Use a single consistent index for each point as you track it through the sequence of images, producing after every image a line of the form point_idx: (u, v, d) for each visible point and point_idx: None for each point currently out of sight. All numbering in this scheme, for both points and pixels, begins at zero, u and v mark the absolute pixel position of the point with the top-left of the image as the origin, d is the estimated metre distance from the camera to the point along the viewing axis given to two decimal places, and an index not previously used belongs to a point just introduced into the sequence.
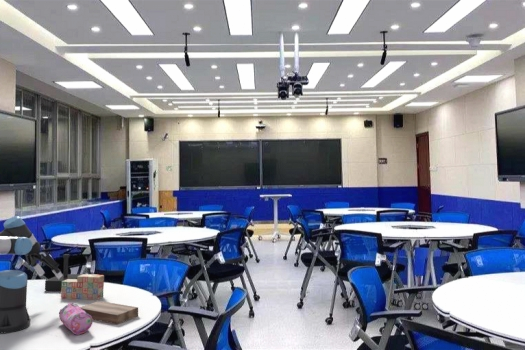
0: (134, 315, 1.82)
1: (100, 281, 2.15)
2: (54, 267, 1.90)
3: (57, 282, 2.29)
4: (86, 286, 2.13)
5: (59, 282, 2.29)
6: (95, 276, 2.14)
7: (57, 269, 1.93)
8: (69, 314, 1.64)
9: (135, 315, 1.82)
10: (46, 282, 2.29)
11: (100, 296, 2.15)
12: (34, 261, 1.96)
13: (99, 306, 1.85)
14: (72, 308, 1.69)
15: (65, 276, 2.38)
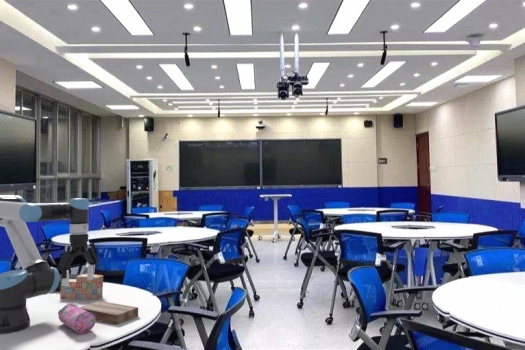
0: (134, 315, 1.82)
1: (99, 281, 2.14)
2: (57, 267, 1.62)
3: None
4: (85, 286, 2.13)
5: (59, 282, 2.29)
6: (94, 276, 2.14)
7: (62, 273, 1.63)
8: (71, 314, 1.65)
9: (135, 315, 1.82)
10: None
11: (99, 296, 2.15)
12: (86, 258, 1.75)
13: (99, 306, 1.85)
14: (73, 308, 1.69)
15: None
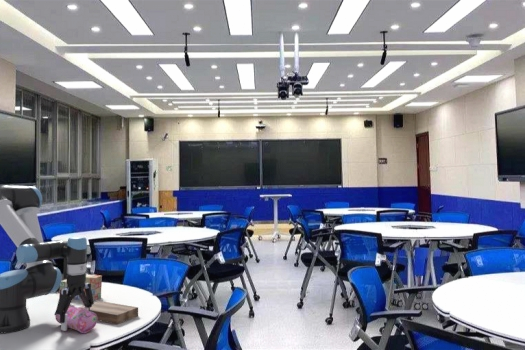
0: (134, 315, 1.82)
1: (97, 281, 2.13)
2: None
3: None
4: None
5: None
6: (92, 276, 2.13)
7: (61, 318, 1.61)
8: (71, 314, 1.64)
9: (135, 315, 1.82)
10: None
11: (97, 297, 2.14)
12: (82, 299, 1.71)
13: (99, 306, 1.85)
14: (71, 308, 1.69)
15: (65, 276, 2.38)
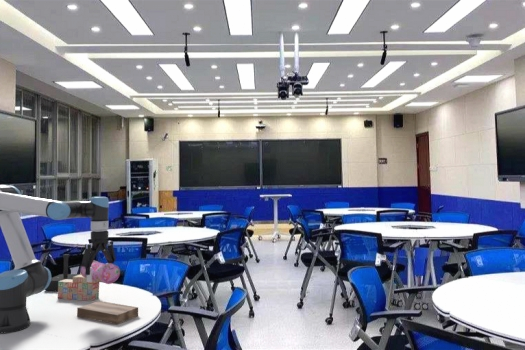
0: (134, 315, 1.82)
1: (95, 282, 2.12)
2: (81, 264, 1.72)
3: (57, 282, 2.29)
4: (81, 287, 2.11)
5: None
6: None
7: (86, 270, 1.73)
8: (96, 267, 1.75)
9: (135, 315, 1.82)
10: None
11: (95, 297, 2.13)
12: (105, 255, 1.82)
13: (99, 306, 1.85)
14: (95, 263, 1.80)
15: (65, 276, 2.38)
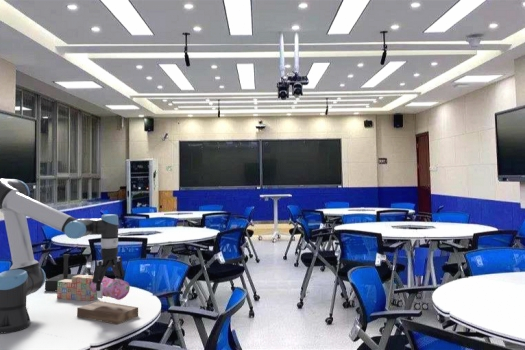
0: (134, 315, 1.82)
1: None
2: None
3: None
4: (80, 287, 2.11)
5: None
6: (89, 277, 2.12)
7: (97, 286, 1.78)
8: (106, 283, 1.81)
9: (135, 315, 1.82)
10: (46, 282, 2.29)
11: (94, 297, 2.12)
12: (114, 271, 1.88)
13: (99, 306, 1.85)
14: (105, 279, 1.85)
15: (65, 276, 2.38)
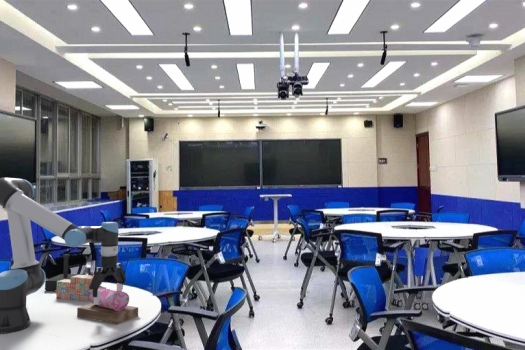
0: (134, 315, 1.82)
1: None
2: None
3: None
4: (79, 287, 2.10)
5: None
6: (87, 277, 2.11)
7: (94, 293, 1.76)
8: (105, 294, 1.81)
9: (135, 315, 1.82)
10: (46, 282, 2.29)
11: None
12: (115, 277, 1.89)
13: (99, 306, 1.85)
14: (104, 289, 1.85)
15: (65, 276, 2.38)
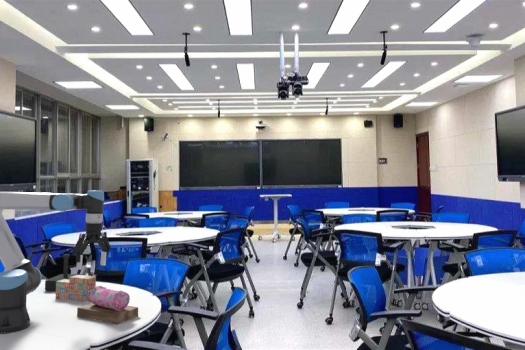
0: (134, 315, 1.82)
1: (90, 283, 2.11)
2: None
3: None
4: (77, 287, 2.10)
5: None
6: (86, 277, 2.11)
7: (77, 258, 1.79)
8: (106, 294, 1.81)
9: (135, 315, 1.82)
10: (46, 282, 2.29)
11: None
12: (100, 245, 1.91)
13: (99, 306, 1.85)
14: (104, 289, 1.85)
15: (65, 276, 2.38)
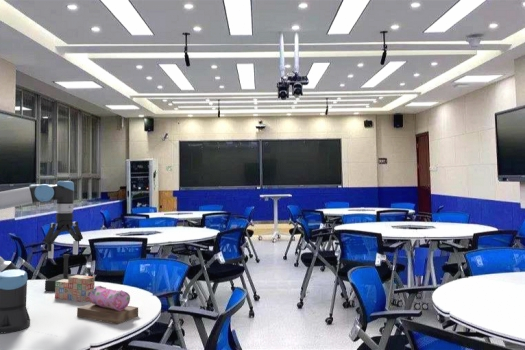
0: (134, 315, 1.82)
1: (89, 283, 2.10)
2: (43, 241, 1.83)
3: None
4: (76, 287, 2.10)
5: None
6: (84, 277, 2.10)
7: (48, 247, 1.84)
8: (106, 294, 1.81)
9: (135, 315, 1.82)
10: (46, 282, 2.29)
11: None
12: (71, 234, 1.96)
13: (99, 306, 1.85)
14: (104, 289, 1.85)
15: (65, 276, 2.38)
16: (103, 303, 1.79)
